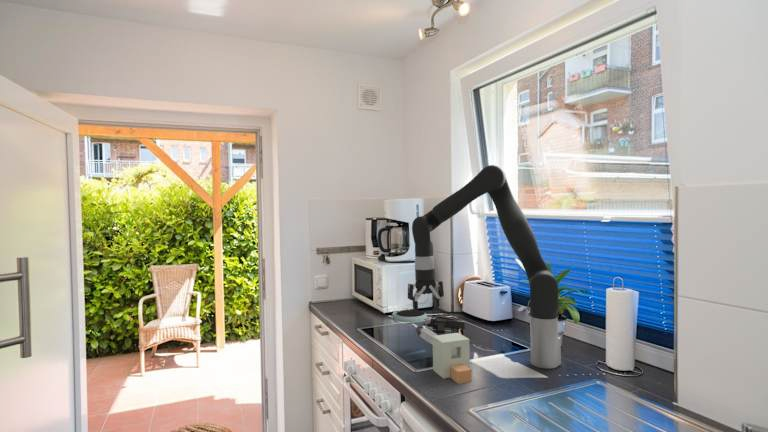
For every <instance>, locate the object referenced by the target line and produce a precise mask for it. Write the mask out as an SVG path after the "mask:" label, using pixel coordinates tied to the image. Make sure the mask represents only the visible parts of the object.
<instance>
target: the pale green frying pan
mask: <svg viewBox="0 0 768 432" xmlns="http://www.w3.org/2000/svg"><path fill="white" fill-rule="evenodd" d="M392 316H393V317H392ZM391 317H392V319H393V318H394V319H395V320H394V319H393V320H394V321H396V322H399V323H406V324H407V323H408V324H410V323H421V322H426V321H425V320H424V319H426V318H428V314H427V313H426V312H424V311H422V310H419V309H418V311H415V310H414V309H410V310H403V311H398V312H393V313H392V312H391Z"/></svg>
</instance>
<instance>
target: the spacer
mask: <svg viewBox="0 0 768 432" xmlns="http://www.w3.org/2000/svg"><path fill="white" fill-rule="evenodd" d="M472 374H473V372H472V369H471V367H470V368H468V367H467V366H465V365H457V366H451V377H450V379H451V380H453V381H454V382H455V383H456V384H458V385H460V384H464V383H470V382H472V380H473V375H472Z"/></svg>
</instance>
